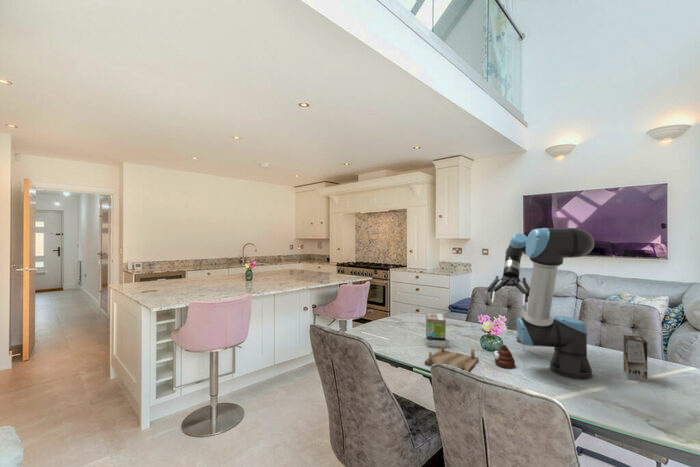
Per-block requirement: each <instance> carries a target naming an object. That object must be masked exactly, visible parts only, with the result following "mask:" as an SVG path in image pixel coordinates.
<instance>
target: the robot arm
mask: <svg viewBox="0 0 700 467" xmlns="http://www.w3.org/2000/svg"><path fill="white" fill-rule="evenodd" d="M594 247H595V240H594V236H592V234H591V233H589V232H588V231H586V230H584V229H581V228H577V227H570V228H569V227H567V228H566V227H565V228H562V227H557V228H556V227H555V228H554V227H553V228H552V227H543V228H534V229H531V231H530V232H529V233H528V235H525V234H523V233H520V232H519V233H515V234H513V236H512V237H511V239H510V240H509V245H508V246H507V247H506V250H505V257H504V258H505V259H504V263H503V264H504V265H503V272H502V276H501V277H500V276H499V275H496V276H495V279H494V280H493V281H492V282H491V283H490V285H489V286H487V293H489V294H490V295H489V298H490V299H491V305H492V306H494V305H495V299H496V293H497V291H499V290H501V289H502V288H504V287H515V288H516V289H518V290H519V291H520V292H521V294H523V295H522V309H524V310H525V308H526V303H527V309H526V310H525V311H523V313H522V316H521V317H518V318H517V319H516V321H515V322H516V323H515V324H516V332H518V336H519V339H520V341H521V344H522V345H524V346H530V347H544V348H545V347H547V348H554V352H553V354H552V357H551V360H550V361H549V369H550V370H551V371H552V373H555V374H556V375H560V376H563V377H564V378H569V379H570V378H571V379H576V380H588V379H589V380H590V379H591V378H592V377H593V369H592V366H591V364H590V361H589V359H588V345H587V344H588V330H587V325H586V323H585V322H584V321H582V320H580V319H576V318H573V317H569V316H565V315H554V316H553V317H552V316H551V310H552V305H553V299H554V291H555V285H556V278H557V272H558V267H560V266H562V265H563V264H564V259H565V258H581V257H584V256H586V255H588V254H590V253H591V252H592V250H594ZM524 253H526V255H527V257H529V260H530V261H531V262H532V263H533V264H532V272H531V278H530V286H529V285H528V282H527V280H526V277H523V278H520V271H521V259H522V256H523V254H524ZM499 282H500V283H499ZM520 283H522V284H523V287H522V285H520ZM520 341H519V342H520Z"/></svg>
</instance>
